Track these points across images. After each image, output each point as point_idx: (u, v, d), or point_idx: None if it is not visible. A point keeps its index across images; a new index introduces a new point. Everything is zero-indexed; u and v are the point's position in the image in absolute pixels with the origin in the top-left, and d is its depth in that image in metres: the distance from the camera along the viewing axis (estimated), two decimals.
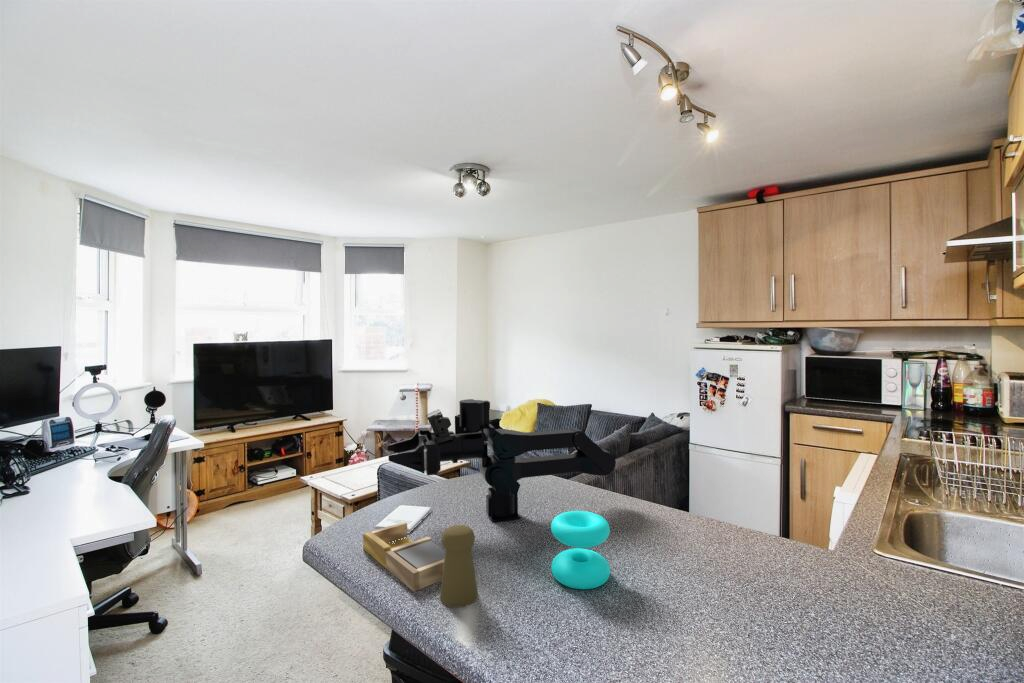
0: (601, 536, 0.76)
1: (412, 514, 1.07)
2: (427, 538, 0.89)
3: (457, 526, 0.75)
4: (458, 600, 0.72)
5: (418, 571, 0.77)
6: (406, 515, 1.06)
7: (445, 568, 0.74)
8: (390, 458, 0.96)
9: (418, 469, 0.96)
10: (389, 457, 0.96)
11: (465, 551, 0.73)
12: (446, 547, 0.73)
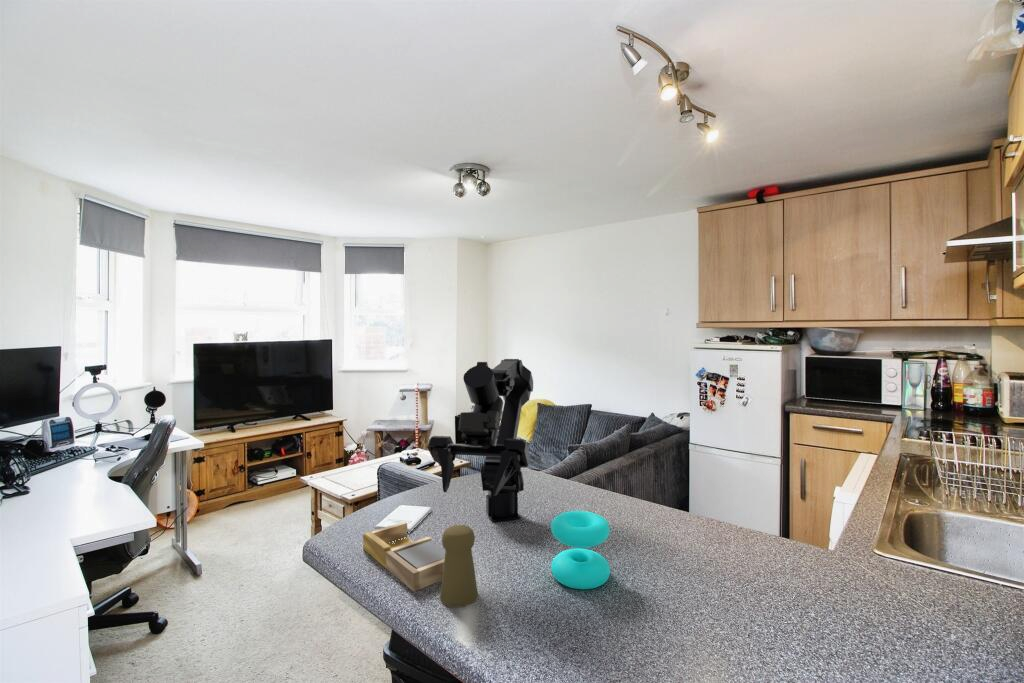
0: (601, 536, 0.76)
1: (412, 514, 1.07)
2: (427, 538, 0.89)
3: (457, 526, 0.75)
4: (458, 600, 0.72)
5: (418, 571, 0.77)
6: (406, 515, 1.06)
7: (445, 568, 0.74)
8: (496, 492, 0.82)
9: (512, 471, 0.87)
10: (495, 493, 0.82)
11: (465, 551, 0.73)
12: (446, 547, 0.73)
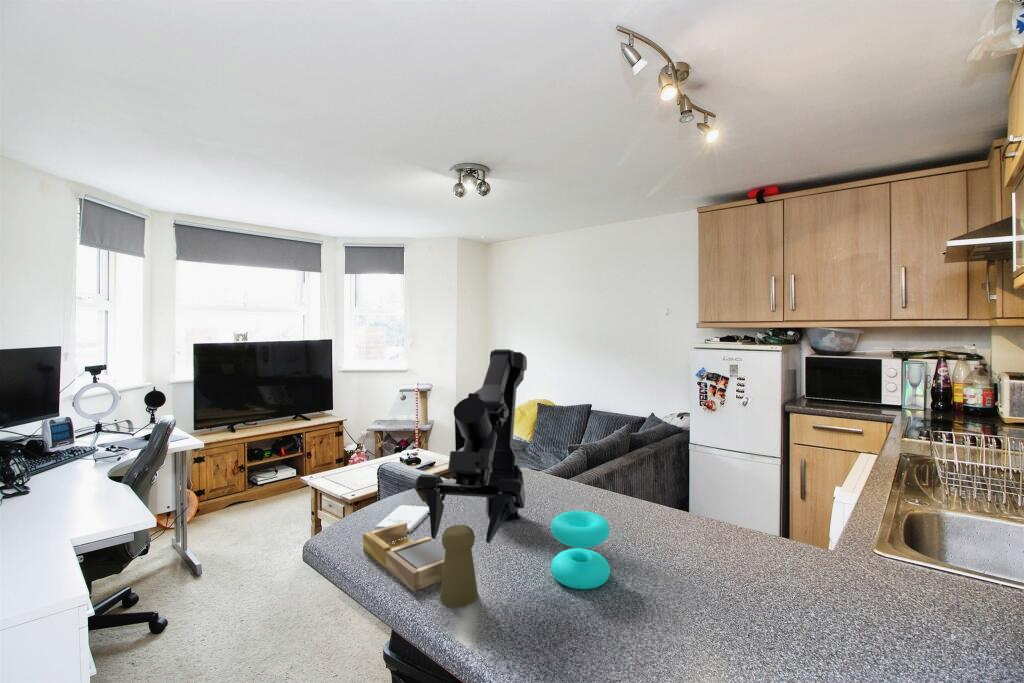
0: (601, 536, 0.76)
1: (412, 514, 1.07)
2: (427, 538, 0.89)
3: (457, 526, 0.75)
4: (458, 600, 0.72)
5: (418, 571, 0.77)
6: (406, 515, 1.06)
7: (445, 568, 0.74)
8: (490, 540, 0.75)
9: (507, 514, 0.80)
10: (489, 540, 0.75)
11: (465, 551, 0.73)
12: (446, 547, 0.73)
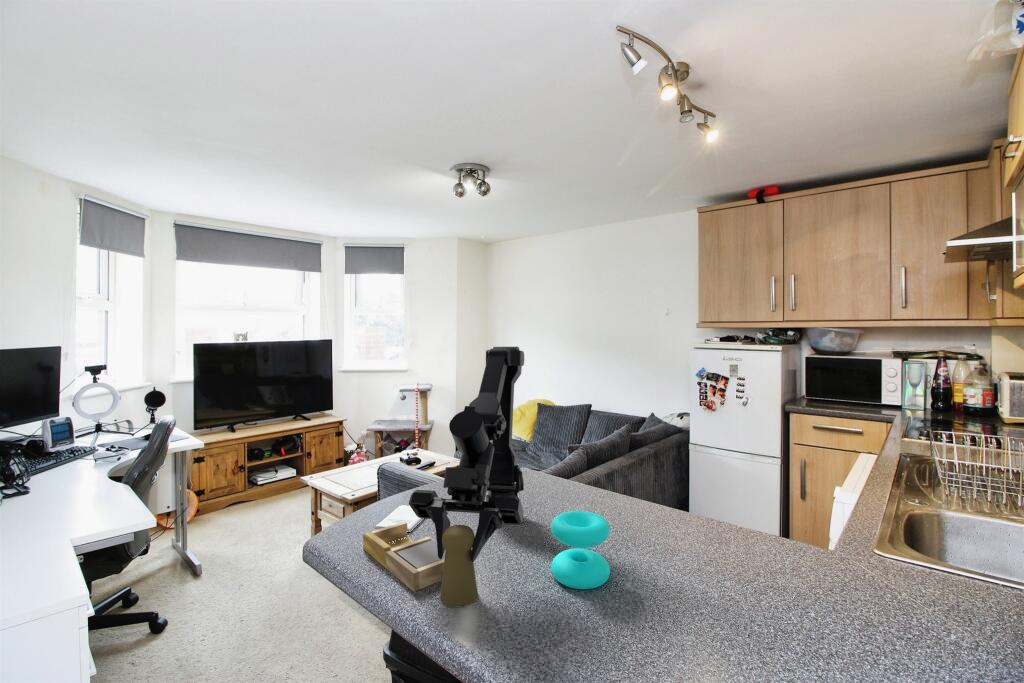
0: (601, 536, 0.76)
1: (412, 514, 1.07)
2: (427, 538, 0.89)
3: (457, 526, 0.75)
4: (458, 600, 0.72)
5: (418, 571, 0.77)
6: (407, 515, 1.06)
7: (445, 568, 0.74)
8: (474, 558, 0.73)
9: (493, 530, 0.78)
10: (473, 559, 0.73)
11: (465, 551, 0.73)
12: (446, 547, 0.73)
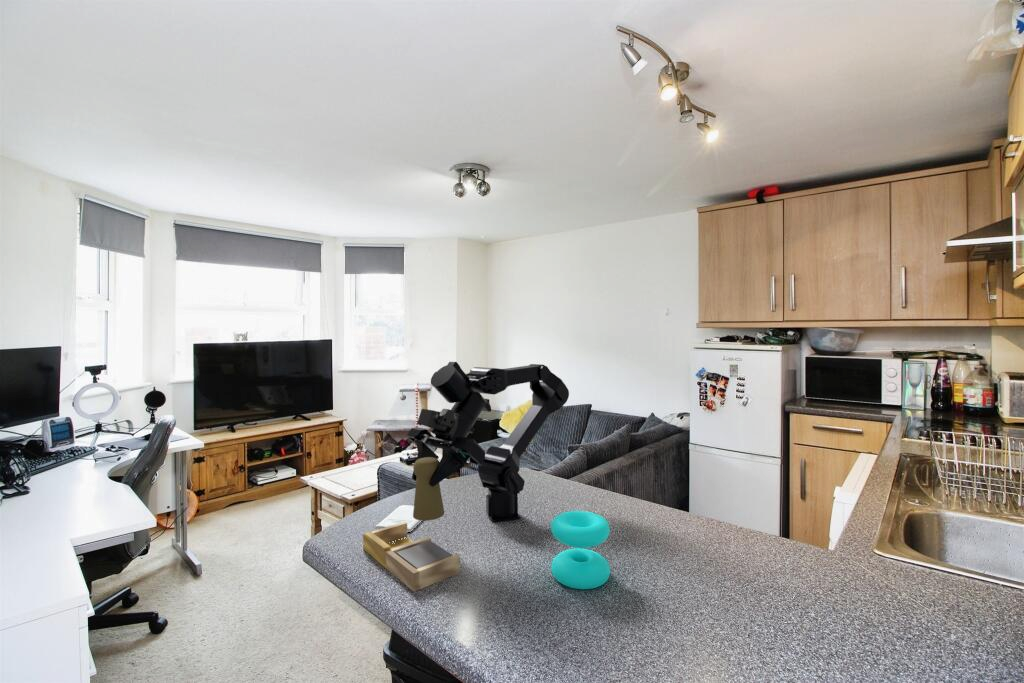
0: (601, 536, 0.76)
1: None
2: (427, 538, 0.89)
3: (428, 457, 0.92)
4: (419, 514, 0.89)
5: (418, 571, 0.77)
6: (407, 515, 1.06)
7: None
8: (432, 484, 0.89)
9: (460, 466, 0.92)
10: (431, 484, 0.89)
11: (426, 476, 0.89)
12: (414, 471, 0.91)
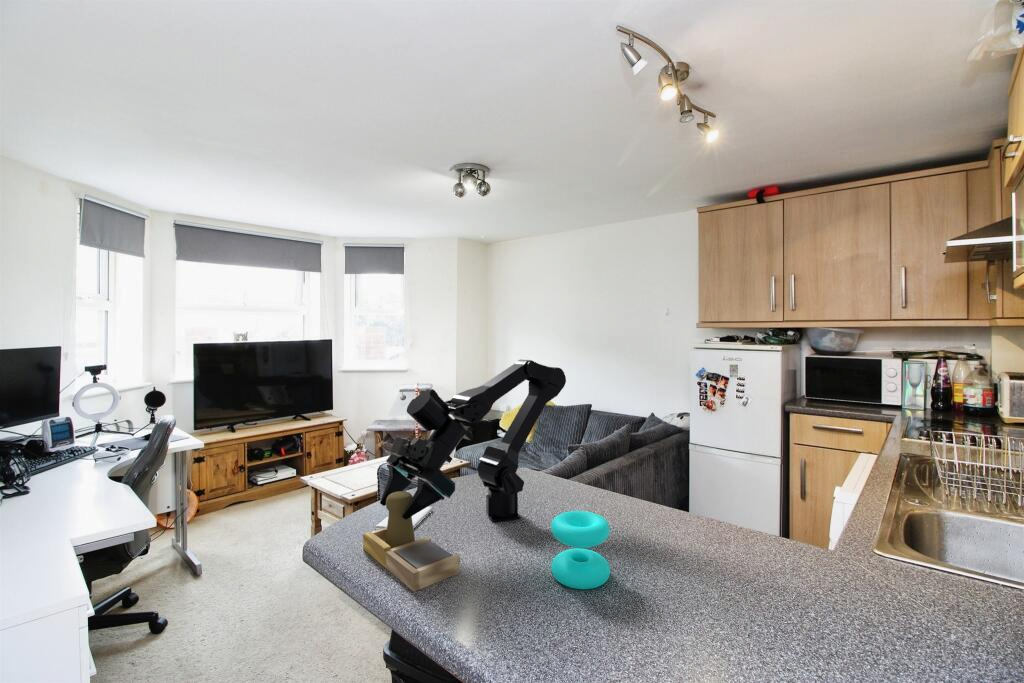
0: (601, 536, 0.76)
1: None
2: (427, 538, 0.89)
3: (401, 492, 0.91)
4: None
5: (418, 571, 0.77)
6: None
7: None
8: (405, 516, 0.86)
9: (436, 500, 0.89)
10: (404, 517, 0.86)
11: (396, 512, 0.89)
12: (386, 506, 0.90)
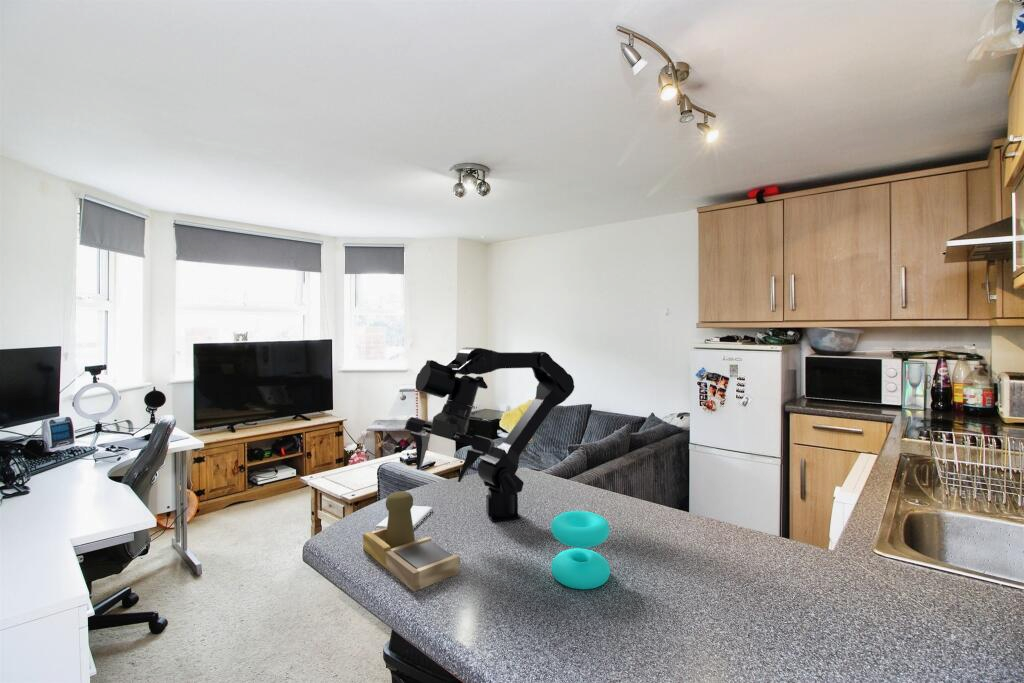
0: (601, 536, 0.76)
1: (413, 514, 1.07)
2: (427, 538, 0.89)
3: (401, 492, 0.91)
4: None
5: (418, 571, 0.77)
6: None
7: None
8: None
9: (478, 456, 1.01)
10: (460, 481, 0.97)
11: (396, 512, 0.89)
12: (386, 506, 0.90)
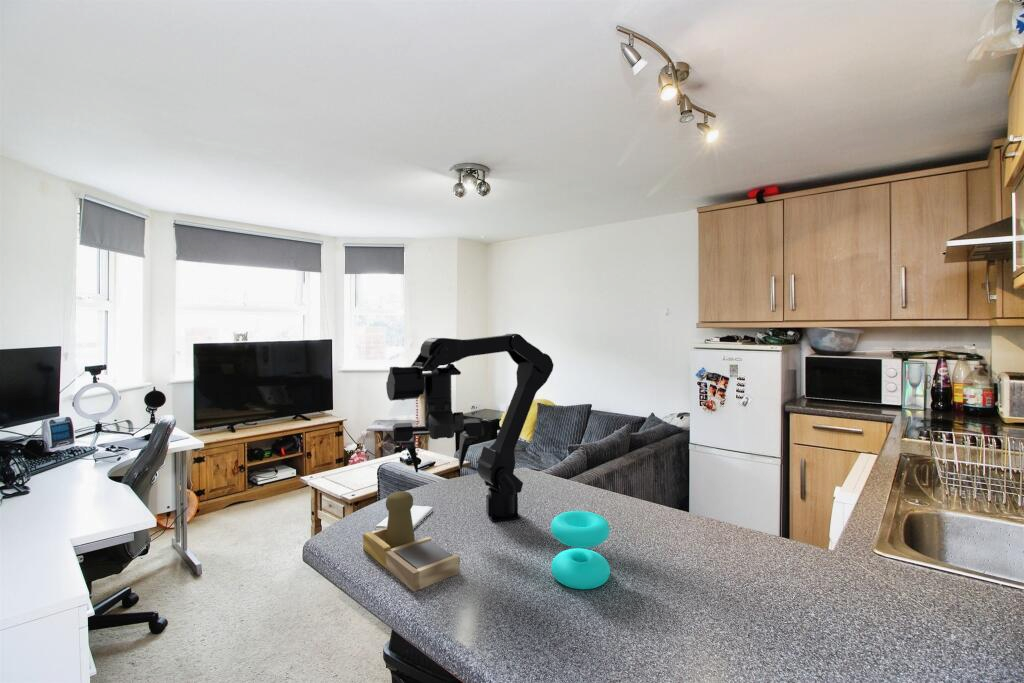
0: (601, 536, 0.76)
1: (413, 514, 1.07)
2: (427, 538, 0.89)
3: (401, 492, 0.91)
4: None
5: (418, 571, 0.77)
6: None
7: None
8: None
9: None
10: None
11: (396, 512, 0.89)
12: (386, 506, 0.90)
